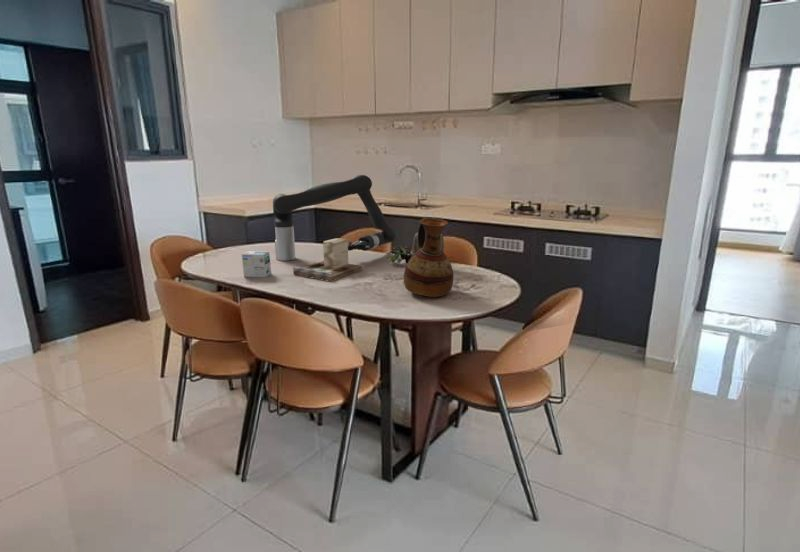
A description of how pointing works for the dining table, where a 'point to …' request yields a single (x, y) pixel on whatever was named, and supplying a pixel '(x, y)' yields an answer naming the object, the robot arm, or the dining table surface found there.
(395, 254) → the passion flower
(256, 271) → the light bulb box
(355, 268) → the trap board
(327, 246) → the birch block
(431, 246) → the ceramic pitcher
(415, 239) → the tabletop clock
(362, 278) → the dining table surface
